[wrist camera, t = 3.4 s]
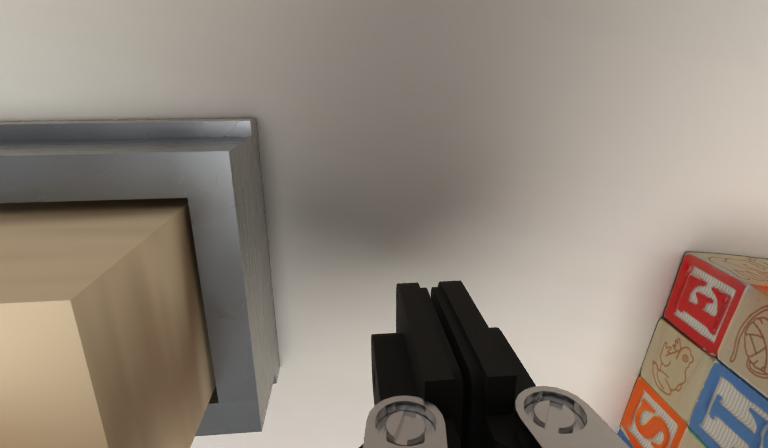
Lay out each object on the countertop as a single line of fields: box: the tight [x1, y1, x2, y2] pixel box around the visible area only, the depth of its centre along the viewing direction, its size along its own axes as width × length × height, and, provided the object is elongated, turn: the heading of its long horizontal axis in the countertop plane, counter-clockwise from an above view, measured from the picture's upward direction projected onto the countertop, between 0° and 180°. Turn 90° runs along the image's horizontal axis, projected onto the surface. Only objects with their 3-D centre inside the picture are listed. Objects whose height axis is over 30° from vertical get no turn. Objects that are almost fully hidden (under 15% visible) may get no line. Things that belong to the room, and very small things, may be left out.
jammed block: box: [0, 198, 216, 448], centre depth 11 cm, size 6×6×8 cm
